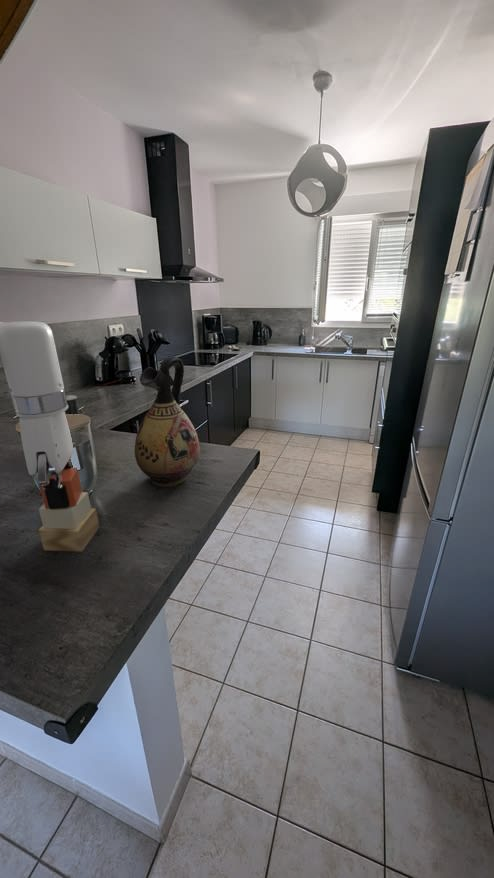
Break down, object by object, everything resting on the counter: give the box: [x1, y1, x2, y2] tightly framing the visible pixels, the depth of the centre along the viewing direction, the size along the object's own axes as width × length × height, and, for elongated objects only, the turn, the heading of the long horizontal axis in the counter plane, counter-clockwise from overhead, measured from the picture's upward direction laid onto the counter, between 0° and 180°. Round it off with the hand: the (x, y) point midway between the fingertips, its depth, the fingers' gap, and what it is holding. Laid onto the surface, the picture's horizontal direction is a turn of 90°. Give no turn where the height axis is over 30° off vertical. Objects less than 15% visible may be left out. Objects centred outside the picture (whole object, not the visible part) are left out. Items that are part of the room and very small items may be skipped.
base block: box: [38, 507, 101, 553], centre depth 67 cm, size 7×7×4 cm
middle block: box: [38, 491, 92, 529], centre depth 65 cm, size 6×6×4 cm
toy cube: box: [38, 468, 83, 509], centre depth 64 cm, size 5×5×5 cm
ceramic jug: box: [134, 356, 201, 488], centre depth 84 cm, size 17×15×30 cm
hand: (63, 497), depth 64 cm, fingers closed on toy cube, 5 cm apart
